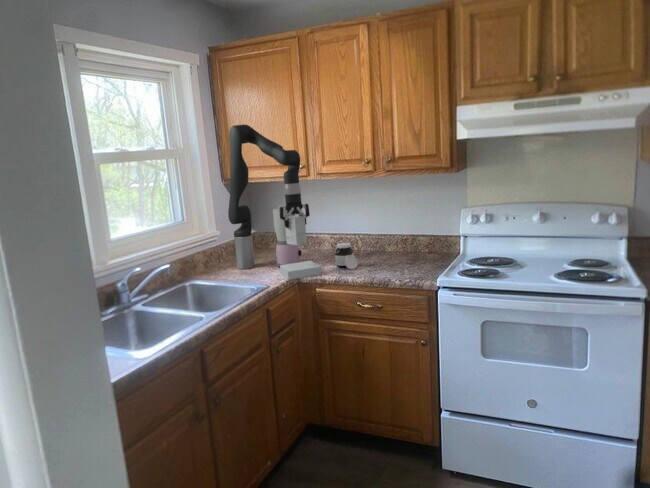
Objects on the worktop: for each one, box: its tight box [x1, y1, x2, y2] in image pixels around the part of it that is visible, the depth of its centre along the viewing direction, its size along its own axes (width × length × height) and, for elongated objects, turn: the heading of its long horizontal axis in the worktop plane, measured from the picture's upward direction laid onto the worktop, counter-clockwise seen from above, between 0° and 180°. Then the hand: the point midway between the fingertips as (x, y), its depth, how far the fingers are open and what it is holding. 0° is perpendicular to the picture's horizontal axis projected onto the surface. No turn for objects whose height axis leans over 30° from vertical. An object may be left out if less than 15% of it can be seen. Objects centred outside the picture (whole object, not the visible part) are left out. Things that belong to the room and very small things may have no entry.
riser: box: [279, 260, 322, 281], centre depth 238 cm, size 16×16×4 cm
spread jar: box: [334, 242, 358, 270], centre depth 243 cm, size 12×11×12 cm
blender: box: [272, 204, 302, 269], centre depth 255 cm, size 16×12×32 cm
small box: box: [285, 215, 308, 246], centre depth 235 cm, size 8×6×13 cm
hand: (295, 226), depth 234 cm, fingers closed on small box, 8 cm apart
